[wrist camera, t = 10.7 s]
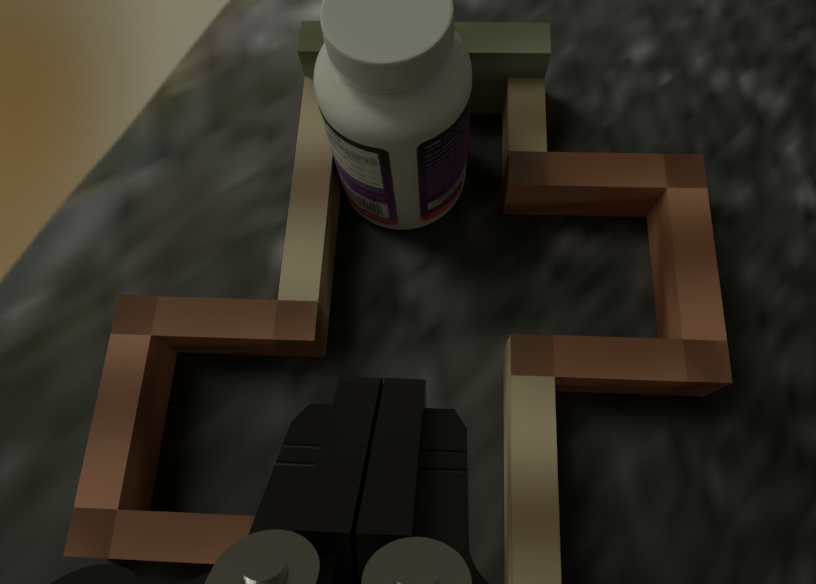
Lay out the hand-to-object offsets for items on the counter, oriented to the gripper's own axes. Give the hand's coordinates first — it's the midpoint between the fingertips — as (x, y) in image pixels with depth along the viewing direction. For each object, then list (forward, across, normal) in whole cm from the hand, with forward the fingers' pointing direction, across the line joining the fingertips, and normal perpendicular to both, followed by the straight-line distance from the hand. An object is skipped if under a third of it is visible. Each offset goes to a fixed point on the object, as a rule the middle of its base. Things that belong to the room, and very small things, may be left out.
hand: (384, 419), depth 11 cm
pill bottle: (+18, +1, +1) cm, 18 cm away
